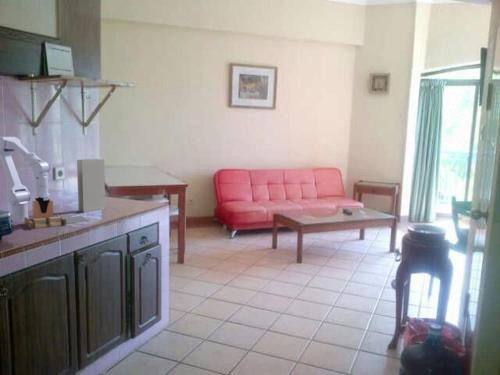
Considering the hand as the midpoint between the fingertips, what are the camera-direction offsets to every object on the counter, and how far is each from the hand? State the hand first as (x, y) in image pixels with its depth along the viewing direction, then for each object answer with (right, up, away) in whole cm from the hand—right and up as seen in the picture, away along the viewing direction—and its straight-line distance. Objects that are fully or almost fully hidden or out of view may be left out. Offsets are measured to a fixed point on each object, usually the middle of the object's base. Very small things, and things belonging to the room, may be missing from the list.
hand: (43, 212), depth 230 cm
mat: (+12, -5, +10) cm, 16 cm away
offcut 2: (+8, -6, -3) cm, 10 cm away
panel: (0, -3, 0) cm, 3 cm away
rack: (+2, -6, -2) cm, 7 cm away
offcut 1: (+2, -7, -8) cm, 10 cm away
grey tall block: (+12, -1, +37) cm, 39 cm away
